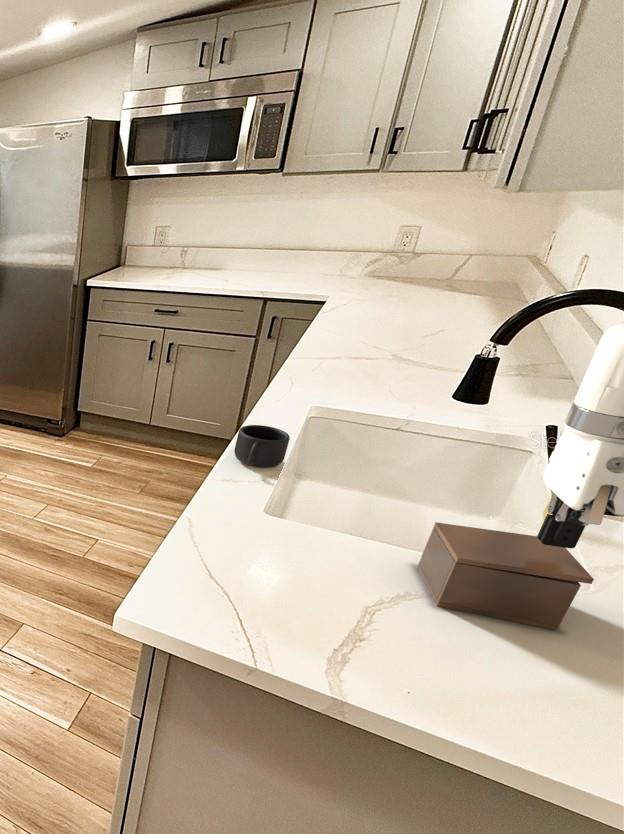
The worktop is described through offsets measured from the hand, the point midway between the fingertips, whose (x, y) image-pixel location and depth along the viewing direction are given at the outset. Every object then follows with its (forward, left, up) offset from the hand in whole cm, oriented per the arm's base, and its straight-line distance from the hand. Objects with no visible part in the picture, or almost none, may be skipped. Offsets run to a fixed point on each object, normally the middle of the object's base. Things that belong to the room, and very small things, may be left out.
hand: (554, 543), depth 85 cm
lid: (+4, 0, -3) cm, 5 cm away
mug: (+31, -37, -11) cm, 49 cm away
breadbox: (+5, 0, -11) cm, 12 cm away
